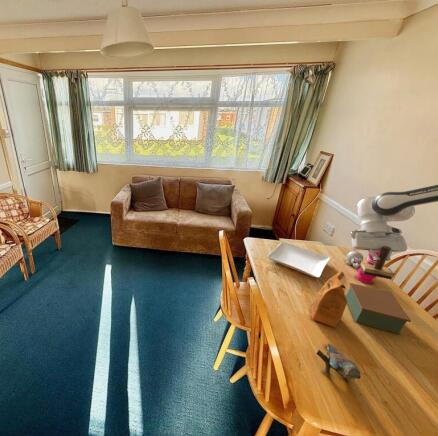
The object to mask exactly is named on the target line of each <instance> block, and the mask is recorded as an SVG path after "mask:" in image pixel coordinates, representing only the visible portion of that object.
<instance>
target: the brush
mask: <svg viewBox="0 0 438 436" xmlns="http://www.w3.org/2000/svg"><path fill="white" fill-rule="evenodd" d="M390 251H391V248H390V247H387V246H382V249H381V251H380V253H379V255H378V256H380V260H376V262H375V264H374V265H370V264H366V263H365V262H361V264H360V268H361V271H362V272H363V274H367V275H371V276H376V278H381V279H387V280H392V278H394V276H395V275H396V273H394V271H393V270H392V269H391V268H390V267H386V266H385V263H386V262H387V261H386V259H387V257H388V255H389V253H390Z"/></svg>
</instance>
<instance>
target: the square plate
mask: <svg viewBox="0 0 438 436" xmlns="http://www.w3.org/2000/svg"><path fill="white" fill-rule="evenodd" d="M266 257H267V258H268V259H269V260H270V261H273V262H274V263H277V264H280V265H283V266H285V267H287V268H289V269H292V270H294V271H297V272H300V273H302V274H304V275H307V276H309V277H312V278H319V279H320V278H321V276H322V274H323V272H324V269H325V267H327V266H326V265H327V264H328V263H329V262H330V260H331V257H330V256H328V255H325V254H323V253H320V252H317V251H314V250H312V249H309V248H305V247H303V246H299V245H297V244H294V243H291V242H287V241H281V242H280V243H279V244H278V245H277V246H276V247H275V248H274V249H273V250H272V251H271V252H269V254H268V255H267V256H266Z"/></svg>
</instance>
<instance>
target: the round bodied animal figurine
mask: <svg viewBox="0 0 438 436" xmlns="http://www.w3.org/2000/svg"><path fill="white" fill-rule="evenodd" d="M363 260H364V256H363V254H362V253H361V252H360V251H357V250H352V251H350V252H348V253H347V254H346V258H345V260H344V261H346V262H345V264H347V265H348V266H352V267H353V268H356V269H357V268H358V269H359V268H360V267H361V263H363Z"/></svg>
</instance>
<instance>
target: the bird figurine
mask: <svg viewBox="0 0 438 436" xmlns="http://www.w3.org/2000/svg"><path fill="white" fill-rule="evenodd" d="M326 348H327V352H326V354H324V353H323V351H322V350H320V349H317V350H316V352H315V353H316V355H317V356H318V357H319V358H320V359H321V360H322V361H323V363H325V369H324V374H325V375H328V376H330V377H331V376H332V374H331V369H332V370H334V371H335V372H337V374H338V375H340V376H341V378H344V379H346V380H355V379H357V380H360V379H361V378H362V377H361V371H360V370H359V368H358V366H357V365H356V364H355V363H354V361H353V360H352V359H350V357H348V356H346V355H344V354H342V353H340V351H338V349H337V347H335V346H333V345H332V344H331V343H327V347H326Z"/></svg>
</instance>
